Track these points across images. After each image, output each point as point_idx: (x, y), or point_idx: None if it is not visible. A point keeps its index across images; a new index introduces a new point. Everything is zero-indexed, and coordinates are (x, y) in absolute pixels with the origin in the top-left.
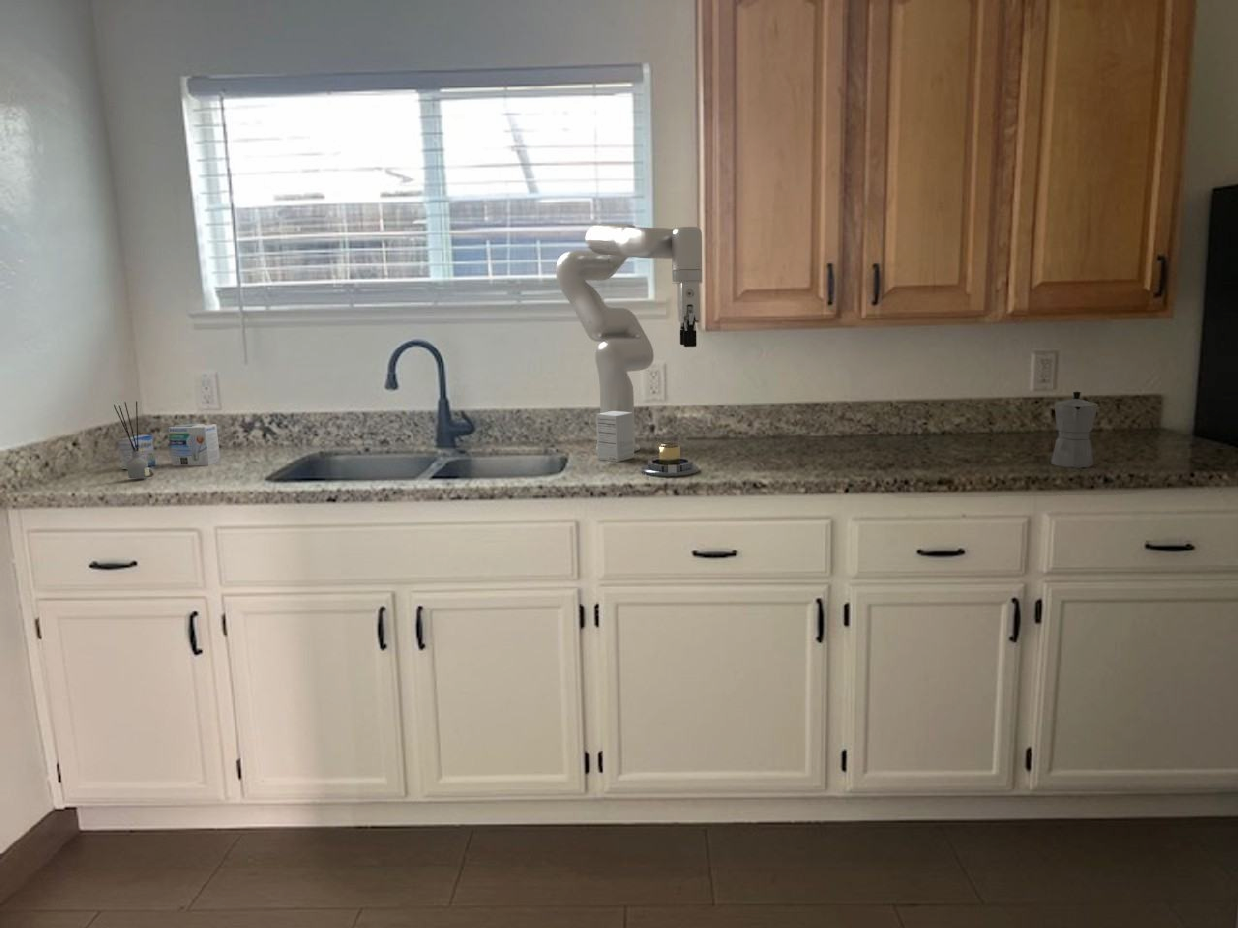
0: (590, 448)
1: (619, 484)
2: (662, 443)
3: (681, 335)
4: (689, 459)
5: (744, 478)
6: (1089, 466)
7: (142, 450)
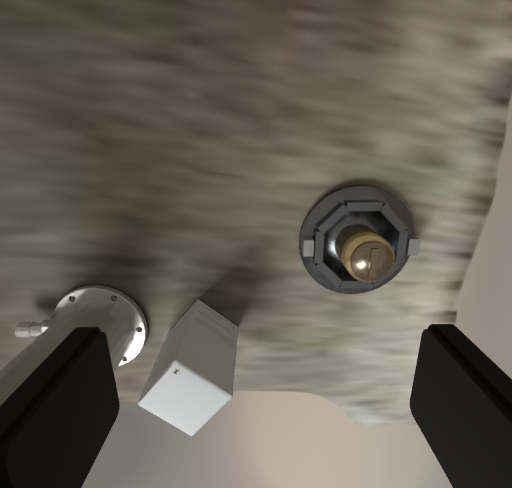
0: None
1: None
2: (362, 276)
3: (75, 485)
4: (347, 205)
5: (464, 93)
6: None
7: None
